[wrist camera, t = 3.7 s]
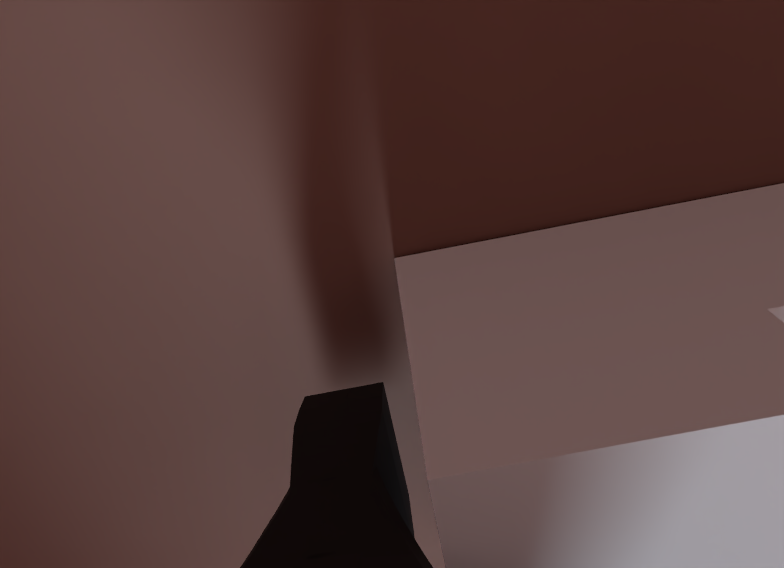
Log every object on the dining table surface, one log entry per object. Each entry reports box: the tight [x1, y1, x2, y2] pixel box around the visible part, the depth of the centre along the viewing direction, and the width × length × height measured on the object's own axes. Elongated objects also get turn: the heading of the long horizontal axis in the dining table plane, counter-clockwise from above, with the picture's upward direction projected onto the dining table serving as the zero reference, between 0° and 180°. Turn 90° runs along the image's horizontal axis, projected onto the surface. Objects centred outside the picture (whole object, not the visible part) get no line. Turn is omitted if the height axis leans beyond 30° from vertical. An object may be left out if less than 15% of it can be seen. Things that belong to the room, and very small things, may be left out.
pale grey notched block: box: [394, 183, 784, 568], centre depth 8 cm, size 5×7×4 cm
